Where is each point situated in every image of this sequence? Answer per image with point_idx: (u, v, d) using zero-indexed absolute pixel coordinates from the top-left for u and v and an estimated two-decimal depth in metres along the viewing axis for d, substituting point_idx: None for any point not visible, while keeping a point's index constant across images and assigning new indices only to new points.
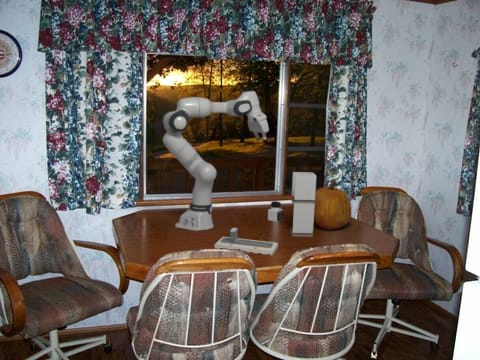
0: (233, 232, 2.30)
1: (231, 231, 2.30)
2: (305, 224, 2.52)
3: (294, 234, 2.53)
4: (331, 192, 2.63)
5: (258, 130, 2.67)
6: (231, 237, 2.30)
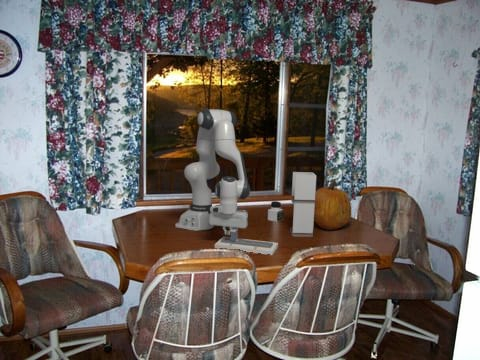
0: (233, 232, 2.30)
1: (231, 231, 2.30)
2: (305, 224, 2.52)
3: (294, 234, 2.53)
4: (331, 192, 2.63)
5: None
6: (231, 237, 2.30)
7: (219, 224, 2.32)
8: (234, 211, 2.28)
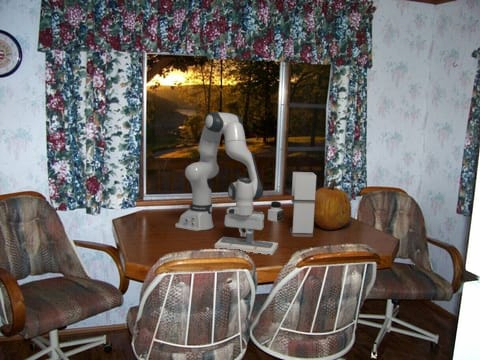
0: (250, 234, 2.27)
1: (248, 233, 2.28)
2: (305, 224, 2.52)
3: (294, 234, 2.53)
4: (331, 192, 2.63)
5: None
6: (248, 239, 2.28)
7: (235, 226, 2.30)
8: (250, 213, 2.26)
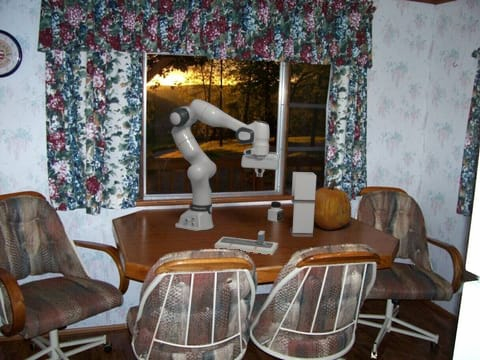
0: (261, 235, 2.26)
1: (259, 234, 2.26)
2: (305, 224, 2.52)
3: (294, 234, 2.53)
4: (331, 192, 2.63)
5: None
6: (259, 240, 2.27)
7: (251, 166, 2.42)
8: (266, 153, 2.38)
